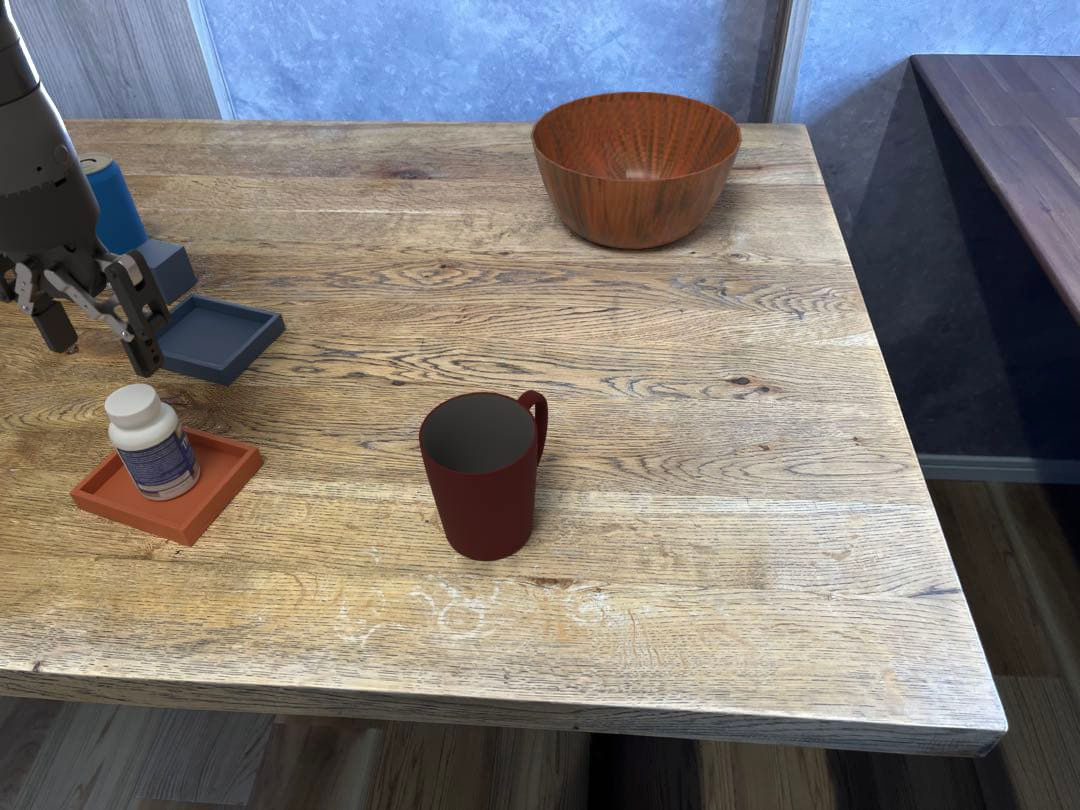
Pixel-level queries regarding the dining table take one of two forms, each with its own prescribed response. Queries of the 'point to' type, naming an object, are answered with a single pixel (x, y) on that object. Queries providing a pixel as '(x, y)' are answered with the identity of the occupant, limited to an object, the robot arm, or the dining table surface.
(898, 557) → the dining table surface
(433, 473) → the mug
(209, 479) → the terracotta tray
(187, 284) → the blue block
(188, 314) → the blue tray
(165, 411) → the pill bottle
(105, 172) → the beverage can
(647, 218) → the bowl
